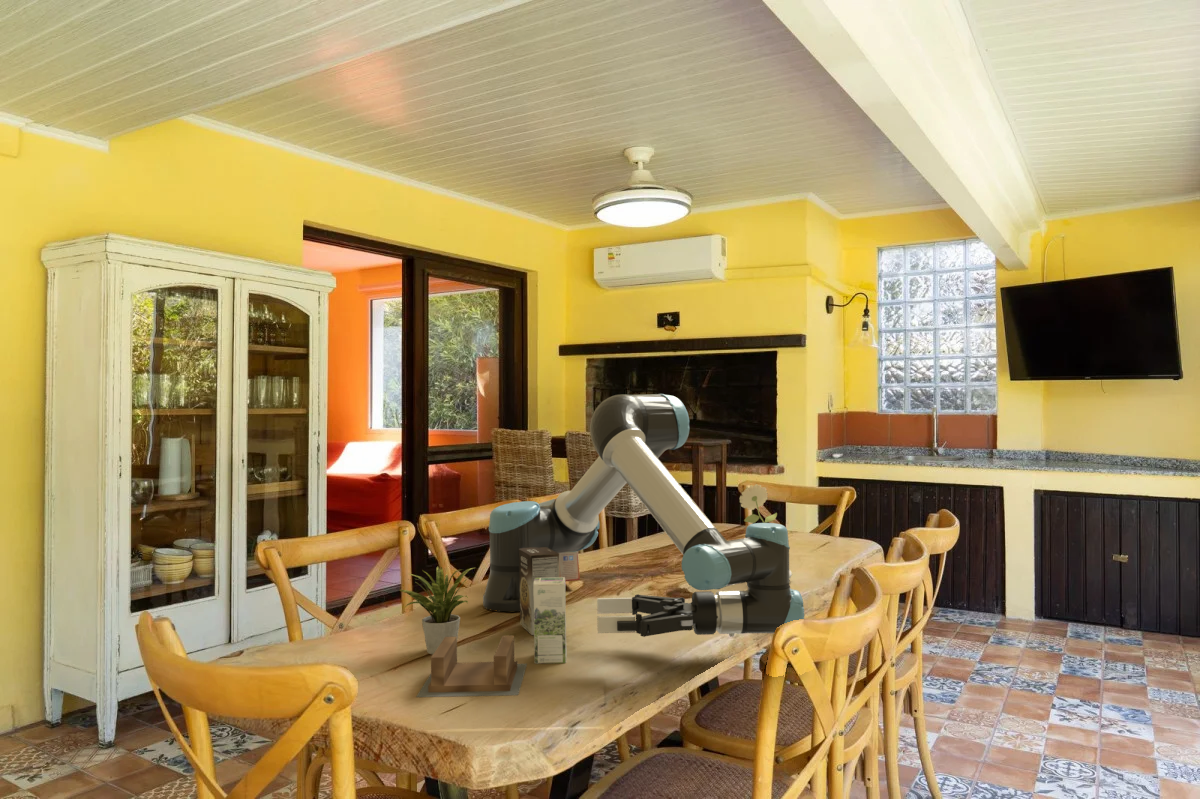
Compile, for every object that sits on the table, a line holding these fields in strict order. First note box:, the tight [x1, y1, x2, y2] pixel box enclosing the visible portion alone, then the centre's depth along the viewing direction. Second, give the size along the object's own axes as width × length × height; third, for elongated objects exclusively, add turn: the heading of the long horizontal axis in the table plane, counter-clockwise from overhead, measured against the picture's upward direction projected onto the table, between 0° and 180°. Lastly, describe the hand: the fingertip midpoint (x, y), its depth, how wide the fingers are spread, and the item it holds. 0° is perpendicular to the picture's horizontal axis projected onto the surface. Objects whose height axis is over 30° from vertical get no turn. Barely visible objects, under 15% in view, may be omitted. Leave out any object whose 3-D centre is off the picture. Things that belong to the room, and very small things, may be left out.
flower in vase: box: [739, 483, 793, 579], centre depth 211 cm, size 13×11×25 cm
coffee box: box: [519, 547, 560, 636], centre depth 168 cm, size 9×6×16 cm
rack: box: [428, 635, 518, 692], centre depth 135 cm, size 13×12×6 cm
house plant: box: [399, 566, 477, 655], centre depth 154 cm, size 14×14×16 cm
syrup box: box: [533, 577, 567, 665], centre depth 146 cm, size 6×6×14 cm
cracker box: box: [538, 498, 581, 583], centre depth 211 cm, size 14×6×21 cm, turn 21°
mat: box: [415, 663, 528, 698], centre depth 135 cm, size 16×16×1 cm
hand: (597, 614), depth 146 cm, fingers open, 13 cm apart
